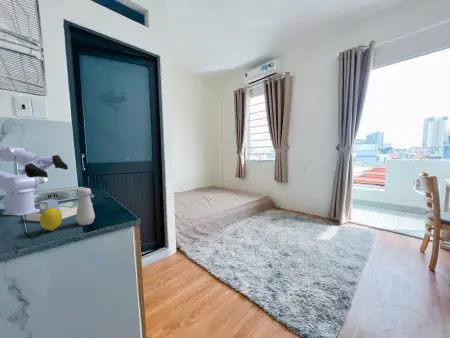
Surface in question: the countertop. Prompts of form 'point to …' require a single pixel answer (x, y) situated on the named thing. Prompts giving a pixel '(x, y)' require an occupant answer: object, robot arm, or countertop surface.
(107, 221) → the countertop surface
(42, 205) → the plug
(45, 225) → the lemon
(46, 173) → the robot arm
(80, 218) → the salt shaker
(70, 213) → the panel
